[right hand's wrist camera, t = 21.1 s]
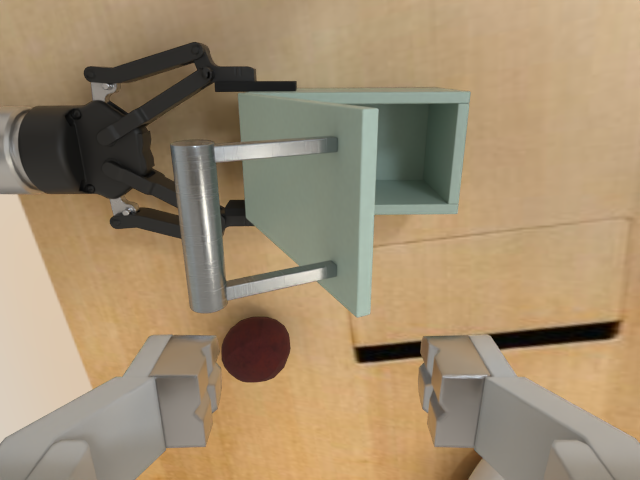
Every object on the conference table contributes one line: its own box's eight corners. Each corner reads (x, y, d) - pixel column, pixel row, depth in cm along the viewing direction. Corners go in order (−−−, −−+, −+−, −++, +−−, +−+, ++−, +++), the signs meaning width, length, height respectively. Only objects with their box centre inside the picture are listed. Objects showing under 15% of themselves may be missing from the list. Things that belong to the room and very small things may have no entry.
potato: (215, 327, 52) (201, 363, 46) (267, 292, 51) (260, 324, 44) (254, 368, 55) (246, 409, 48) (305, 336, 53) (304, 374, 47)
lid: (379, 107, 19) (176, 117, 15) (370, 314, 22) (204, 359, 19) (247, 92, 34) (131, 95, 30) (255, 216, 37) (151, 231, 34)
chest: (436, 87, 44) (471, 91, 34) (428, 185, 47) (457, 214, 38) (258, 88, 43) (243, 92, 34) (263, 187, 47) (251, 216, 37)
